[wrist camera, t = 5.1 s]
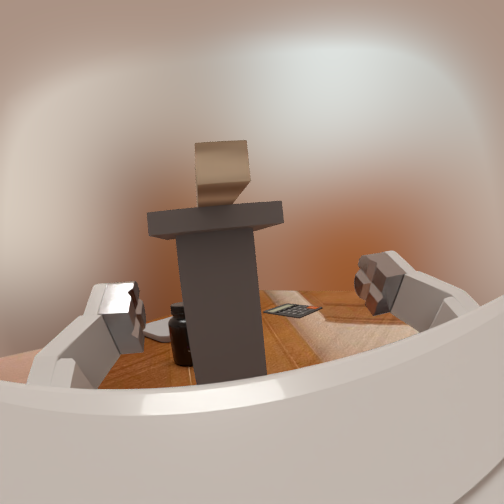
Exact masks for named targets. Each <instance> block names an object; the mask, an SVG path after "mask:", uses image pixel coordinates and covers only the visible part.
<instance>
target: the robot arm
mask: <svg viewBox="0 0 504 504" xmlns="http://www.w3.org/2000/svg"><path fill="white" fill-rule="evenodd" d="M358 266H359V268H360V270H359V271H358V272H357V273H356V275H355V279H354V287H355V291H356V293H357V295H358V296H359V297H360V298H362V299H364V300H366V301H365V305H366V307H367V308H368V310H369V311H370V312H371V314H372V315H373V316H375V315H380V314H384V313H388V312H390V313H391V314H393V315H394V316H396V317H397V318H399V319H400V320H402V321H404V322H405V323H407V324H408V325H410V326H411V327H413V328H414V329H416V330H417V331H419V332H420V333H418V334H415V335H413V336H410V337H407V338H404V339H401V340H399V341H396V342H393V343H390V344H387V345H384V346H381V347H378V348H375V349H371V350H368V351H365V352H361V353H358V354H355V355H351V356H348V357H344V358H340V359H337V360H333V361H329V362H325V363H321V364H317V365H313V366H308V367H304V368H300V369H295V370H290V371H286V372H281V373H275V374H270V375H265V376H259V377H253V378H247V379H241V380H234V381H227V382H219V383H211V384H202V385H193V386H182V387H168V388H151V389H97V388H98V386H99V385H100V383H101V382H102V381H103V379H104V378H105V376H106V375H107V373H108V372H109V371H110V369H111V368H112V366H113V365H114V364H115V362H116V361H117V359H118V358H119V357H120V354H128V353H140V352H143V351H144V339H145V337H144V334H143V330H144V329H145V327H146V316H145V309H144V304H143V301H142V300H140V299H139V288H138V284H137V282H136V281H131V282H117V283H104V284H96V285H94V286H93V289H92V291H91V294H90V297H89V300H88V303H87V306H86V309H85V312H84V315H83V316H79V317H78V318H76V319H75V320H74V321H73V322H72V323H71V324H70V325H69V326H67V327H66V328H65V329H64V330H63V331H62V332H61V333H60V334H58V335H57V336H56V337H55V338H54V339H53V340H52V341H51V342H50V343H49V344H48V345H46V346H45V347H44V348H43V349H42V350H41V351H40V352H39V353H38V354H37V355H36V356H35V358H34V361H33V364H32V367H31V370H30V373H29V376H28V380H27V383H26V384H22V383H15V382H9V381H3V380H0V504H504V295H502V296H500V297H498V298H496V299H495V300H493V301H491V302H489V303H487V304H485V305H483V306H481V307H480V306H479V305H478V304H477V303H476V302H475V301H474V300H473V299H472V298H471V297H470V296H469V295H468V294H467V293H466V292H465V291H464V290H462V289H460V288H457V287H455V286H453V285H451V284H448V283H446V282H443V281H441V280H439V279H437V278H434V277H432V276H429V275H427V274H425V273H422V272H420V271H418V272H417V271H415V270H414V269H413V268H412V267H411V266H410V265H409V264H408V263H407V262H406V261H405V260H404V259H403V258H402V257H401V256H400V255H399V254H397V253H396V252H395V251H387V252H382V253H377V254H370V255H363V256H361V258H360V259H359V263H358Z"/></svg>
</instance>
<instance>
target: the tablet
mask: <svg viewBox="0 0 504 504" xmlns="http://www.w3.org/2000/svg"><path fill="white" fill-rule="evenodd" d="M171 318H172V317H169V318H166V319H162V320H158V321H155V322H151V323H148V324H146V327H145V329H144V330H143V334H144V336H146V337H149V338H152V339H154V340H157V341H160V342H171V341H170V334H169V328H168V322H169V320H170V319H171Z"/></svg>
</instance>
